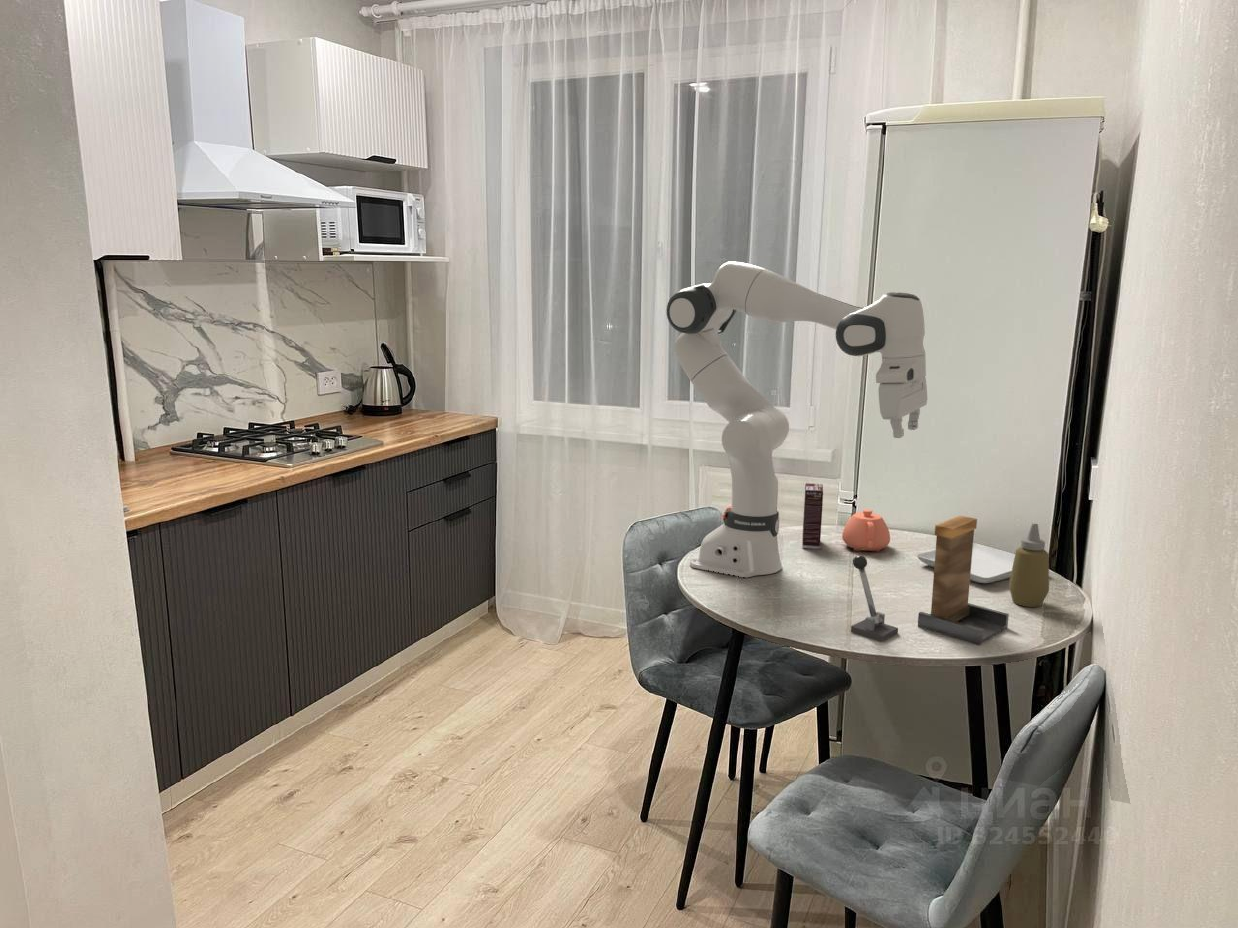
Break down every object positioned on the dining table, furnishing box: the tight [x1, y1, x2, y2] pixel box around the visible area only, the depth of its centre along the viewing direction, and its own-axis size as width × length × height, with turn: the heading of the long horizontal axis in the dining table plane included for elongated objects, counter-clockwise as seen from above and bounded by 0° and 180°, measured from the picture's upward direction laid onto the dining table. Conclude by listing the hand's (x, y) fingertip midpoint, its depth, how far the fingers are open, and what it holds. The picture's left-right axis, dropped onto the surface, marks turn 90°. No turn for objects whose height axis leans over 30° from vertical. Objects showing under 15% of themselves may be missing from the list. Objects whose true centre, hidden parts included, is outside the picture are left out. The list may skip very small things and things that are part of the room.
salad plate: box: [916, 542, 1015, 584], centre depth 217 cm, size 21×21×3 cm
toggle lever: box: [852, 554, 883, 627], centre depth 178 cm, size 3×3×14 cm
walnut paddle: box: [930, 515, 978, 622], centre depth 181 cm, size 4×11×21 cm, turn 133°
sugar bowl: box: [841, 508, 891, 552], centre depth 233 cm, size 12×14×10 cm
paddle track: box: [917, 602, 1010, 646], centre depth 181 cm, size 13×13×3 cm
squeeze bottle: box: [1008, 523, 1050, 608], centre depth 193 cm, size 8×8×18 cm
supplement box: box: [801, 482, 824, 550], centre depth 236 cm, size 9×5×16 cm, turn 168°
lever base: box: [850, 611, 899, 643], centre depth 178 cm, size 7×6×4 cm
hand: (906, 433), depth 191 cm, fingers open, 8 cm apart
